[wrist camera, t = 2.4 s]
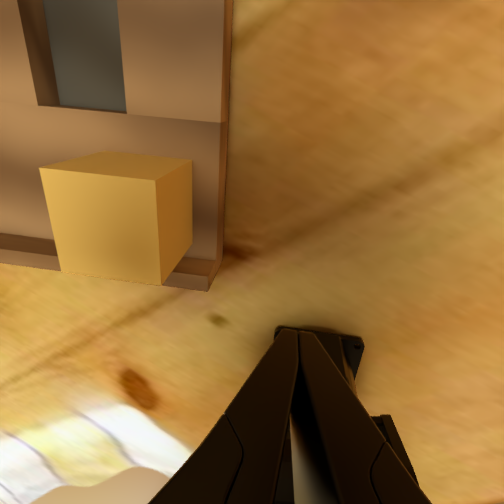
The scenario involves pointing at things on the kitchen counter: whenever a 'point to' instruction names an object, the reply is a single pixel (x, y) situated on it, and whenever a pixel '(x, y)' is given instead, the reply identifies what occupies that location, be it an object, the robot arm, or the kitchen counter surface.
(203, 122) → the tray
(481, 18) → the kitchen counter surface
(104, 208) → the mustard block
